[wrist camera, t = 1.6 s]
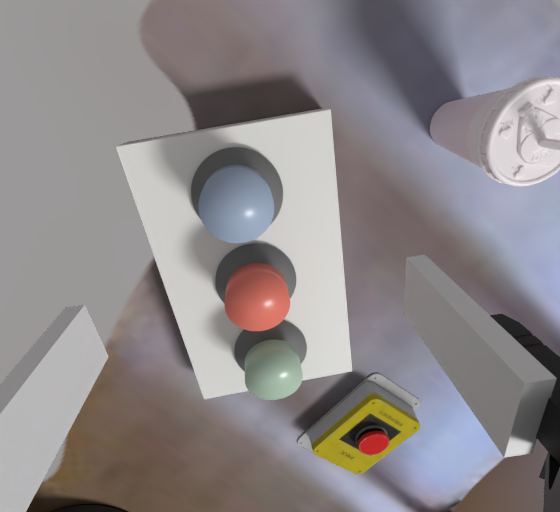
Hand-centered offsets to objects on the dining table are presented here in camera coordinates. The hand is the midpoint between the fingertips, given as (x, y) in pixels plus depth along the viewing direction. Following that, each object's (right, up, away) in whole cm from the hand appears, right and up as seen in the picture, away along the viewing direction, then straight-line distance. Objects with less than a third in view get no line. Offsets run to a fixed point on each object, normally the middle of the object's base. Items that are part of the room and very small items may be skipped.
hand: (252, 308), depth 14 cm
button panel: (-1, +1, +19) cm, 19 cm away
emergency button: (+11, -19, +31) cm, 38 cm away
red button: (-1, -1, +15) cm, 15 cm away
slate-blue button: (-2, +6, +11) cm, 13 cm away
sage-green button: (0, -8, +18) cm, 20 cm away
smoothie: (+16, +14, +15) cm, 26 cm away
